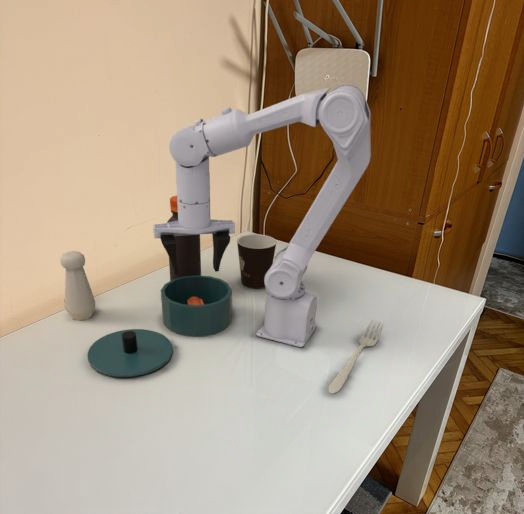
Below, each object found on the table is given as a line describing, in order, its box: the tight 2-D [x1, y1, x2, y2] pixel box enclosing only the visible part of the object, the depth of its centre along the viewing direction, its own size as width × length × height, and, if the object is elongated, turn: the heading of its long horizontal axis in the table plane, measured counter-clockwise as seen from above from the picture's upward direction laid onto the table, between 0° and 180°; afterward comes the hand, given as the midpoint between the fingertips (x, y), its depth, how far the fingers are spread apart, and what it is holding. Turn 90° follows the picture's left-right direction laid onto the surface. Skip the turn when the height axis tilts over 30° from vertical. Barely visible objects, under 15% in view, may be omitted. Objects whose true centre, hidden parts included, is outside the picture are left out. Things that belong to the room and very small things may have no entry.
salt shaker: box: [60, 250, 96, 321], centre depth 97 cm, size 6×6×13 cm
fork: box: [327, 319, 385, 395], centre depth 91 cm, size 3×24×2 cm, turn 151°
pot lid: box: [87, 328, 173, 378], centre depth 88 cm, size 14×14×4 cm
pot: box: [160, 275, 233, 338], centre depth 100 cm, size 13×13×6 cm
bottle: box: [166, 195, 202, 281], centre depth 108 cm, size 7×7×20 cm
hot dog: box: [187, 297, 204, 305], centre depth 100 cm, size 9×3×3 cm, turn 16°
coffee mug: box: [236, 233, 277, 290], centre depth 115 cm, size 12×9×10 cm
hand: (196, 271), depth 96 cm, fingers open, 7 cm apart
